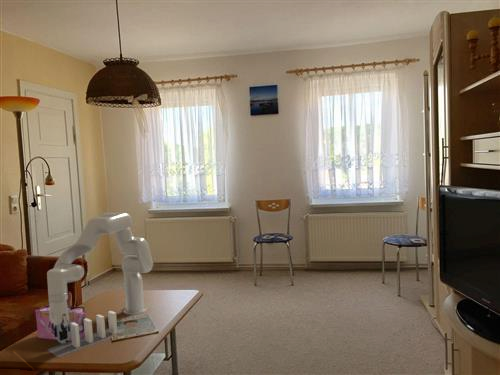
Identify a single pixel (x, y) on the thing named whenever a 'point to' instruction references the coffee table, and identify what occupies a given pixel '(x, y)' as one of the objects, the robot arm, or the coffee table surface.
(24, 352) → the coffee table surface
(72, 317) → the gum box
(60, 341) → the gray block
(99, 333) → the tile
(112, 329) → the tile
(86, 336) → the tile
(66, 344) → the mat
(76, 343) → the tile
